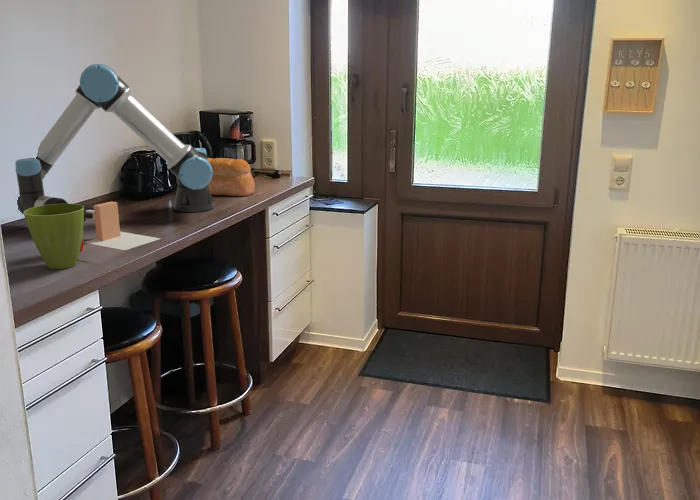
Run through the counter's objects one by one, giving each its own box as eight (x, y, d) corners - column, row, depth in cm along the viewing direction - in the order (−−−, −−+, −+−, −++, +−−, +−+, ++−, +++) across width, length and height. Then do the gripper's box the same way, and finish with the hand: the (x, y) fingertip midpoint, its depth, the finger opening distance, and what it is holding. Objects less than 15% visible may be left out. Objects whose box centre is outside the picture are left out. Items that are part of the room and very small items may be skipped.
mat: (120, 233, 211) (120, 231, 211) (161, 240, 203) (161, 238, 203) (83, 244, 198) (82, 242, 198) (124, 252, 190) (124, 250, 190)
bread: (246, 197, 267) (245, 161, 263) (189, 195, 273) (186, 159, 269) (258, 191, 280) (257, 157, 276) (203, 189, 286) (201, 155, 282)
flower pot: (26, 276, 169) (17, 216, 164) (37, 259, 183) (29, 204, 178) (87, 271, 173) (80, 213, 168) (93, 255, 186) (86, 202, 182)
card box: (114, 235, 207) (111, 201, 204) (120, 236, 206) (117, 202, 202) (97, 240, 201) (93, 205, 198) (103, 241, 200) (99, 206, 197)
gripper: (70, 215, 219) (119, 223, 208) (36, 223, 208) (86, 232, 197) (67, 194, 217) (117, 201, 206) (33, 201, 206) (83, 208, 195)
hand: (101, 216), depth 202 cm, fingers closed
